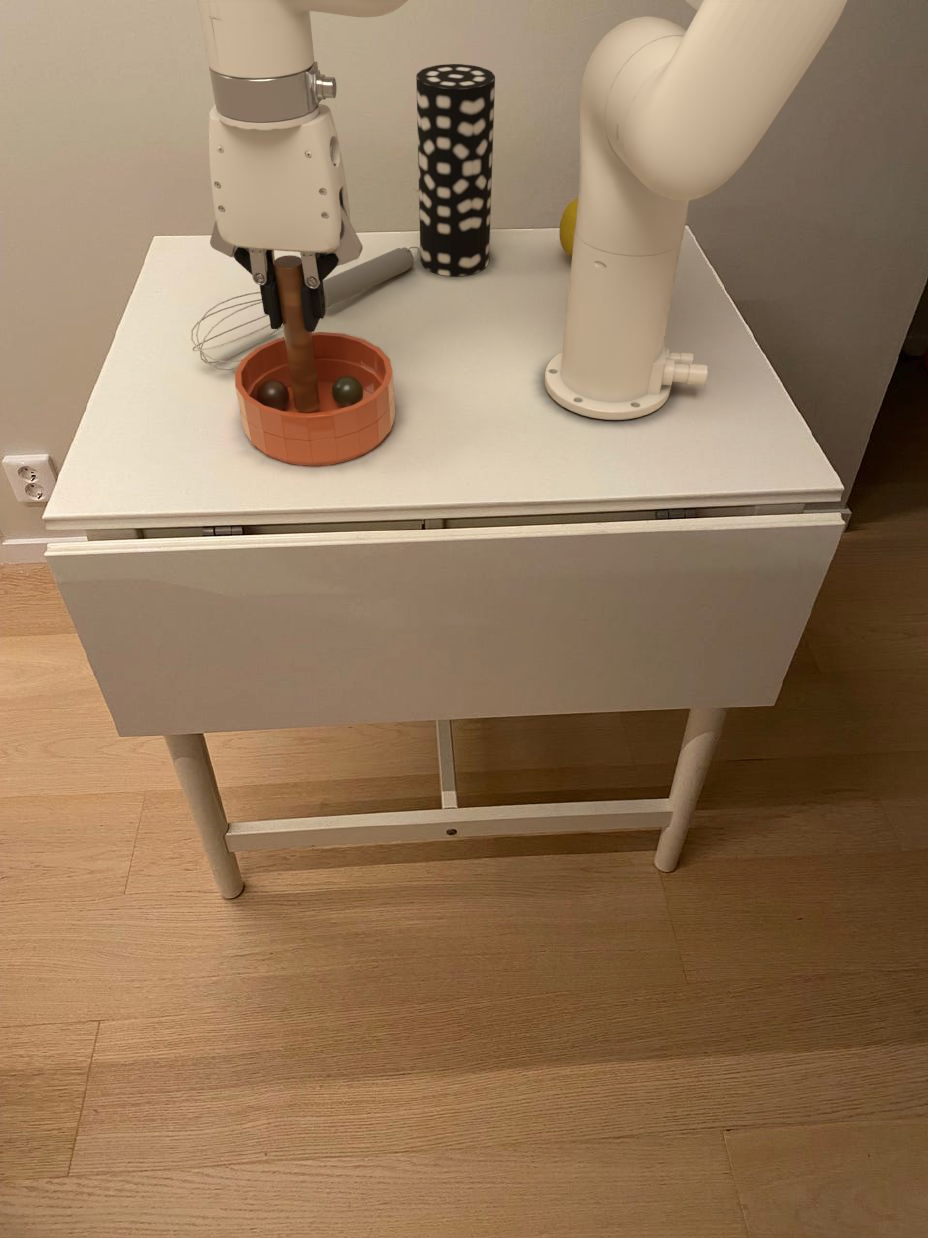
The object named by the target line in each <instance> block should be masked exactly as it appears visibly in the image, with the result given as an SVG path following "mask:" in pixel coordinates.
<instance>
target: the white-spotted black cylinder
mask: <svg viewBox="0 0 928 1238" xmlns="http://www.w3.org/2000/svg"><path fill="white" fill-rule="evenodd" d="M415 77H416V78H415V79H416V80H415V81H416V82H415V83H416V121H417V123H416V124H417V125H416V126H417V127H416V128H417V164H418V165H417V167H418V169H417V170H418V209H419V212H418V213H419V258H420V264H421V265H422V267H423V268H424V269H426V270H427V271H428V272H431V273H434V274H436V275H441V276H447V277H464V276H465V277H466V276H471V275H475V274H477V273H480V272H482V271H483V270H485V269H486V268H487V267H488V266H489V263H490V245H491V244H490V242H491V241H490V240H491V215H492V212H491V211H492V184H493V182H492V181H493V154H494V126H495V125H494V122H495V121H494V120H495V93H496V91H495V90H496V75H495V73H494V72H493V71H491V70H489V69H487V68H485V67H482V66H477V65H473V64H464V63H463V64H462V63H445V64H436V65H431V66H428V67H425V68H423V69H421V70H419V71H418V72H417V73H416V76H415Z"/></svg>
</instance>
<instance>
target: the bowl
mask: <svg viewBox="0 0 928 1238" xmlns="http://www.w3.org/2000/svg"><path fill="white" fill-rule="evenodd" d="M312 341H313V349H314V357H315V365H316V374H317V382H318V390H319V399H320V406H319V408H318V409H317V410H315V411H312V412H301V411H298V410H297V409H296V408H295V406H294V399H293V392H292V385H291V378H290V371H289V364H288V357H287V350H286V343H285V337H284V336H283V337H278V338H275V339H272V340H270V341H268V342H266V343H264V344H262V345H259V346H258V347H256V348H255V349H253V350H251V352H249V353H248V354H247V355H246V356H245V357H243V358H242V359H243V360H242V359H241V360H242V361H240V362H239V364H238V366H237V367H238V368H237V367H236V368H237V369H235V370H234V387H235V391H236V393H235V394H236V397H237V403H238V408H239V412H240V418H241V422H242V428H243V432H244V433H245V435H246V437H247V438H248V439H249V441H250V442H251V444H252V445H253V446H255V447H256V448H257V449H258V450H259V451H260V452H262V453H263V454H265V455H266V456H267V457H270V458H272V459H274V460H277V461H280V462H283V463H287V464H290V465H291V464H292V465H297V466H306V467H307V466H309V467H310V466H311V467H314V466H315V467H316V466H319V467H320V466H329V465H330V466H331V465H336V464H339V463H340V464H341V463H345V462H348V461H352V460H355V459H357V458H360V457H362V456H363V455H365V454H367V453H369V452H371V451H372V450H374V449H375V448H376V447H377V446H379V445H380V444H381V443H382V442H383V441H384V440H385V439H386V437H387V435H388V434H389V433H390V432H391V430H392V427H393V425H394V421H395V418H396V409H395V407H396V406H395V389H394V387H395V385H394V371H393V366H392V362H391V359H390V357H388V355H387V354H386V353H385V352H384V351H383V350H382V348H380V347H379V346H377V345H375V344H373V343H372V342H370V341H367V340H366V339H364V338H361V337H357V336H353V335H349V334H346V333H339V332H330V331H329V332H327V331H314V332H312ZM343 376H351V377H354V378H356V379H357V380H358V381H359V382H360V383H361V385H362V387H363V398H362V400H361V401H360V402H358V403H356V404H354V405H352V406H348V407H345V408H343V407H341V406H339V405H338V404H337V403H336V402H335V401H334V399H333V397H332V387H333V384H334V383H335V381H336V380H337V379H339V378H340V377H343ZM268 380H278V381H280V382H282V383H283V384H284V385H285V386H286V387H287V389H288V391H289V402H288V404H287V406H286V407H285V408H284V409H283V410H277V409H274V408H271V407H268V406H264V405H263V404H261V403H259V402H258V398H257V392H258V389H259V387H260V385H261V384H262V383H264V382H265V381H268Z"/></svg>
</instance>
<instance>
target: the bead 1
mask: <svg viewBox="0 0 928 1238" xmlns="http://www.w3.org/2000/svg"><path fill="white" fill-rule="evenodd" d="M257 398H258V402H259V403H261V404H263V405H264V406H268V407H271V408H274V409H277V410H283V409H284V408H285V407H286V406H287V404H288V402H289V391H288V389H287V387H286V386H285V385H284V384H283V383H282V382H280V381H278V380H268V381H265V382H264V383H262V384H261V385H260V387H259V389H258V392H257Z"/></svg>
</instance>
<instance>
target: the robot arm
mask: <svg viewBox="0 0 928 1238" xmlns="http://www.w3.org/2000/svg"><path fill="white" fill-rule="evenodd" d="M408 1H409V0H197V5H198V12H199V16H200V17H199V18H200V22H201V23H200V24H201V28H202V33H203V34H202V35H203V40H204V45H205V46H204V47H205V52H206V57H207V61H208V63H207V64H208V69H209V75H210V81H211V86H212V94H213V99H214V105H213V106H212V108H211V110H210V111H209V113H208V162H209V174H210V175H209V177H210V186H211V196H212V203H213V204H212V205H213V210H214V216H215V222H214V226H213V229H212V233H211V237H210V241H209V244H210V247H211V248H212V249H213V250H215V251H217V252H220V253H221V254H223V255H226V256H227V257H229V258H233V259H234V260H235V261H236V262H237V263H238V264H239V265H240V266H241V267H242V268H243V269H244V270H246V271H247V272H248V273H249V274H250V275H251V276H252V280H253V282H254V283H255V284H256V285H258V286H259V292H261V293H260V296H261V299H262V300H261V301H262V303H261V304H262V310H263V313H264V315H269V316H268V319H269V324H270V329H271V330H277V329H279V328H280V327H282V326H283V323H282V316H281V309H280V302H279V295H278V288H277V281H276V274H275V267H274V261H275V260H276V258H275V257H276V256H275V251H280V252H281V251H282V252H295V253H299V254H300V258H301V260H302V266H303V272H304V278H303V281H304V284H303V285H302V287H301V289H300V295H301V303H302V311H303V319H304V326H305V330H307V332H312V333H313V332H315V331H316V328H317V326H318V324H319V322H320V320H321V319H322V320H324V318H325V315H326V310H327V308H326V306H325V296H324V287H323V280H326V279H327V278H328V276H330V274H331V273H332V272H333V271H334V270H335V269H336V268H337V267H339V266H343V265H345V264H347V263H350V262H353V261H355V260H358V259H359V258H360V256H361V254H362V251H363V249H364V248H363V247H364V246H363V244H362V242H361V240H360V238H359V236H358V234H357V232H356V231H355V228H354V226H353V225H352V223H351V212H350V211H351V210H350V201H349V195H348V194H349V193H348V188H347V186H348V185H347V180H346V174H345V168H344V162H343V157H342V151H341V147H340V141H339V137H338V133H337V129H336V125H335V121H334V117H333V114H332V110H331V108H330V107H329V106H328V105H326V104H321V103H320V102H321V101H322V100H323V101H324V100H326V99H336V96H337V81H336V78H335V77H334V76H326V74H324V73H323V74H321V71H320V69H319V65H318V61H315V55H314V54H315V52H314V42H313V33H312V31H313V30H312V22H311V13H310V12H315V13H323V14H331V15H337V16H339V15H340V16H346V17H351V18H352V17H353V18H377V17H381V16H385V15H388V14H390V13H393V12H395V11H397V10H398V9H400V8H401V7H402V6H404V5H405V4H406V3H407V2H408ZM684 1H685V2H686V3H687V4H688V5H689V6H691V8H692V9H694V10H695V11H696V13H695V15H694V17H693V19H692V21H691V22H690V24H689V26H688V27H687V29H685V28H683V27H682V26H680V24H677V23H675V22H673V21H671V20H669V19H665V18H662V17H657V16H647V15H646V16H638V17H634V18H631V19H628V20H626V21H623V22H621V23H618V25H616V26H615V27H613V28H612V29H611V30H610V31H608V32H607V33H606V34H605V35H604V37H602V38H601V39H600V41H599V42H598V43H597V45H596V46H595V48H594V49H593V51H592V53H591V55H590V57H589V59H588V61H587V64H586V66H585V69H584V73H583V76H582V81H581V85H580V93H579V103H578V105H579V106H578V108H579V109H578V110H579V111H578V128H579V134H578V135H579V136H578V137H579V182H578V196H577V198H578V206H577V217H576V227H575V233H574V243H573V253H572V257H571V264H570V273H569V274H570V275H569V285H568V293H567V294H568V295H567V303H566V314H565V323H564V324H565V325H564V332H563V334H564V335H563V343H562V344H563V346H562V351H561V352H559V353H558V354H555V356H554V357H552V358H551V359H550V360H549V362H548V363H547V365H546V368H545V371H544V380H543V381H544V387H545V389H546V391H547V394H548V395H549V396H550V397H551V398H552V399H553V400H554V401H555V402H556V403H557V404H559V406H561V407H563V408H565V409H566V410H569V411H570V412H572V413H576V414H577V415H580V416H583V417H588V418H591V419H597V420H605V421H606V420H607V421H623V420H632V419H636V418H642V417H644V416H646V415H649V414H651V413H654V412H655V411H657V410H659V409H661V407H662V406H664V404H665V403H666V402H667V400H668V399H669V397H670V393H671V389H672V384H673V383H682V384H683V383H684V384H688V385H700V386H705V385H706V383H707V380H708V379H707V378H708V369H709V366H708V364H702V363H701V364H700V363H694V356H695V355H694V353H693V352H673V351H671V350H670V348H666V336H665V333H666V328H667V322H668V317H669V313H670V312H669V311H670V306H671V302H672V296H673V291H674V286H675V281H676V274H677V270H678V264H679V258H680V254H681V253H680V252H681V247H682V242H683V240H684V235H685V230H686V225H687V217H688V212H689V203H690V201H694V200H697V199H700V198H703V197H705V196H707V195H710V194H711V193H713V192H715V191H716V190H718V189H719V188H720V187H722V186H723V185H724V184H725V183H726V182H727V181H729V180H730V179H731V178H732V177H733V176H734V175H735V174H736V173H737V171H738V170H739V169H740V168H741V167H742V166H743V165H744V163H745V162H746V161H747V160H748V159H749V157H750V155H751V154H752V153H753V151H754V150H755V149H756V147H757V146H758V144H759V143H760V141H761V140H762V138H763V137H764V136H765V134H766V133H767V131H768V129H769V128H770V126H771V125H772V123H773V122H774V121H775V119H776V118H777V116H778V114H779V113H780V111H781V110H782V108H783V107H784V105H785V104H786V102H787V101H788V99H789V97H790V96H791V95H792V93H793V92H794V90H795V88H796V87H797V86H798V85H799V82H800V81H801V79H802V78H803V76H804V75H805V73H806V72H807V70H808V69H809V67H810V65H811V64H812V63H813V61H814V60H815V58H816V57H817V55H818V53H819V52H820V50H821V49H822V47H823V46H824V44H825V42H826V41H827V39H828V37H829V36H830V34H831V33H832V31H833V30H834V28H835V26H836V24H837V23H838V22H839V19H840V17H841V15H842V13H843V11H844V9H845V6H846V4H847V3H848V0H684Z"/></svg>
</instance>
